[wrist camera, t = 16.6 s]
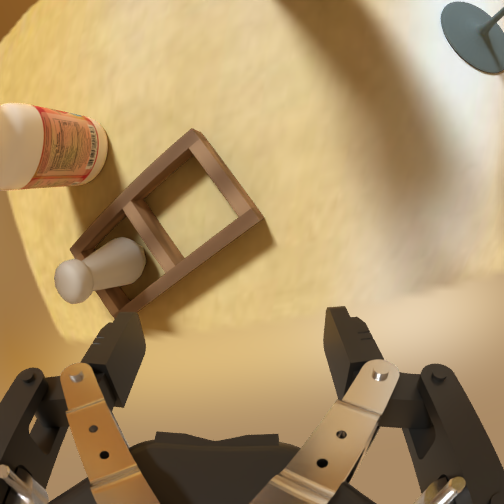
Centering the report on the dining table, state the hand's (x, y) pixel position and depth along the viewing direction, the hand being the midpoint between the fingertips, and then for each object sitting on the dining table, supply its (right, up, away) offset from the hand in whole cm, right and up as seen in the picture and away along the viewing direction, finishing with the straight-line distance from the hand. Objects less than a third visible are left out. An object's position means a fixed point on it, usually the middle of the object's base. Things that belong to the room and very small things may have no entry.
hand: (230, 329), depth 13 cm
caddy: (-10, +5, +24) cm, 27 cm away
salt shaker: (-14, +3, +26) cm, 29 cm away
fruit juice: (-22, +17, +24) cm, 37 cm away
